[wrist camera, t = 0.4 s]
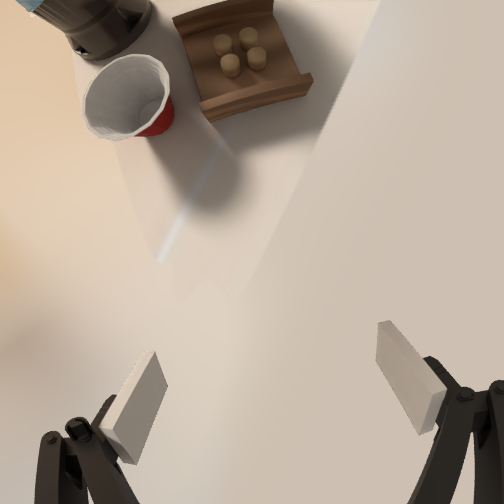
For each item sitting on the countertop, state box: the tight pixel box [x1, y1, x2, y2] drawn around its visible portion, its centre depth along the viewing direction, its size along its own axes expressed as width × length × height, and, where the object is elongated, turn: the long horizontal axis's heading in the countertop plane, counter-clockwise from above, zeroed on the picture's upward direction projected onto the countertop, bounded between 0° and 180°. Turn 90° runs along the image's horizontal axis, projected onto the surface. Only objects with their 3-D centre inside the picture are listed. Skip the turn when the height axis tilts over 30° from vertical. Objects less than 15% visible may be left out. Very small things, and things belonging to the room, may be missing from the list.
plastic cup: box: [83, 54, 174, 141], centre depth 30 cm, size 11×11×12 cm
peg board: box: [172, 0, 313, 122], centre depth 31 cm, size 16×14×6 cm
